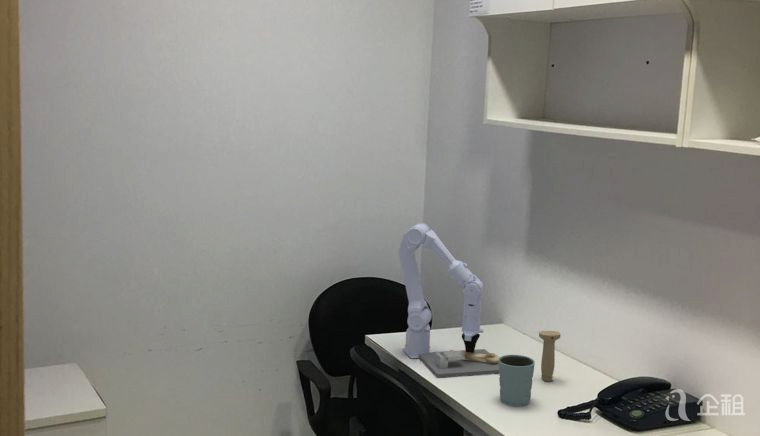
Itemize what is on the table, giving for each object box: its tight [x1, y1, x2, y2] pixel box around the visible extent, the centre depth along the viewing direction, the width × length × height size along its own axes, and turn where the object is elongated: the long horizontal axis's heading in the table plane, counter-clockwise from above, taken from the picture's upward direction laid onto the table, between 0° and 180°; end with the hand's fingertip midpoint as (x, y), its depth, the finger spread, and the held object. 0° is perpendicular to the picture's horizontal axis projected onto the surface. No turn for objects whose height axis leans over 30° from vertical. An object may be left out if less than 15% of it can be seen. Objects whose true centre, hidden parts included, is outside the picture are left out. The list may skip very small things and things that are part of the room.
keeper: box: [435, 350, 465, 369], centre depth 239 cm, size 8×5×4 cm, turn 105°
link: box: [448, 349, 500, 364], centre depth 244 cm, size 16×5×2 cm, turn 73°
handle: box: [538, 330, 561, 382], centre depth 230 cm, size 5×6×15 cm
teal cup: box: [498, 354, 536, 407], centre depth 214 cm, size 10×10×12 cm
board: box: [418, 348, 499, 379], centre depth 243 cm, size 20×24×1 cm
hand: (469, 355), depth 247 cm, fingers closed, pressing on link
